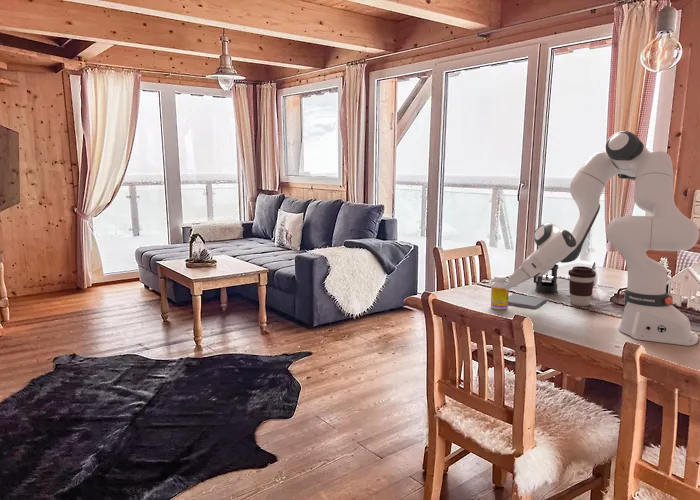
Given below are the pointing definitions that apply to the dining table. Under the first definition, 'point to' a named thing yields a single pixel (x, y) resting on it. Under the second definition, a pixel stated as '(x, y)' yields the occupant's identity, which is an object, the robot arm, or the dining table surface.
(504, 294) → the supplement bottle
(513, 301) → the mat
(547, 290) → the french press
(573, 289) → the coffee cup
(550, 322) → the dining table surface
